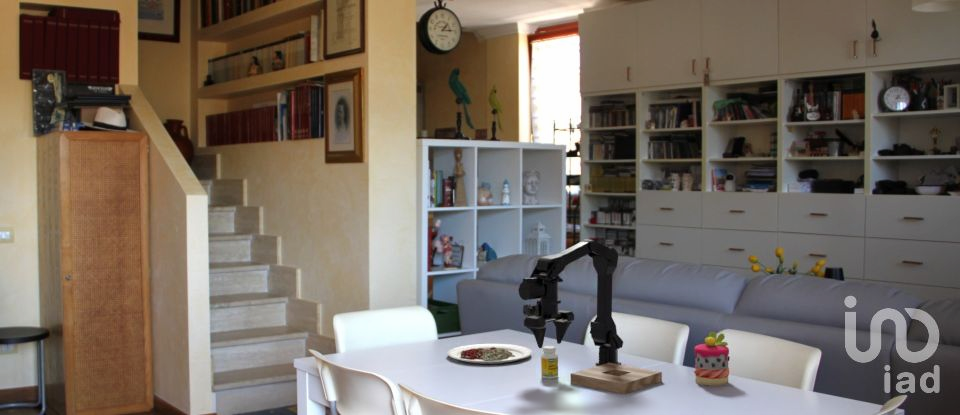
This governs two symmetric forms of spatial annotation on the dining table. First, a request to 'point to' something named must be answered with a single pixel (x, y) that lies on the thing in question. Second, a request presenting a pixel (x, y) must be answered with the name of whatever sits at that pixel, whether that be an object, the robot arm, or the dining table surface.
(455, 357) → the plated food
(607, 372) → the socket block
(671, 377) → the dining table surface
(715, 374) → the cake
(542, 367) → the supplement bottle
